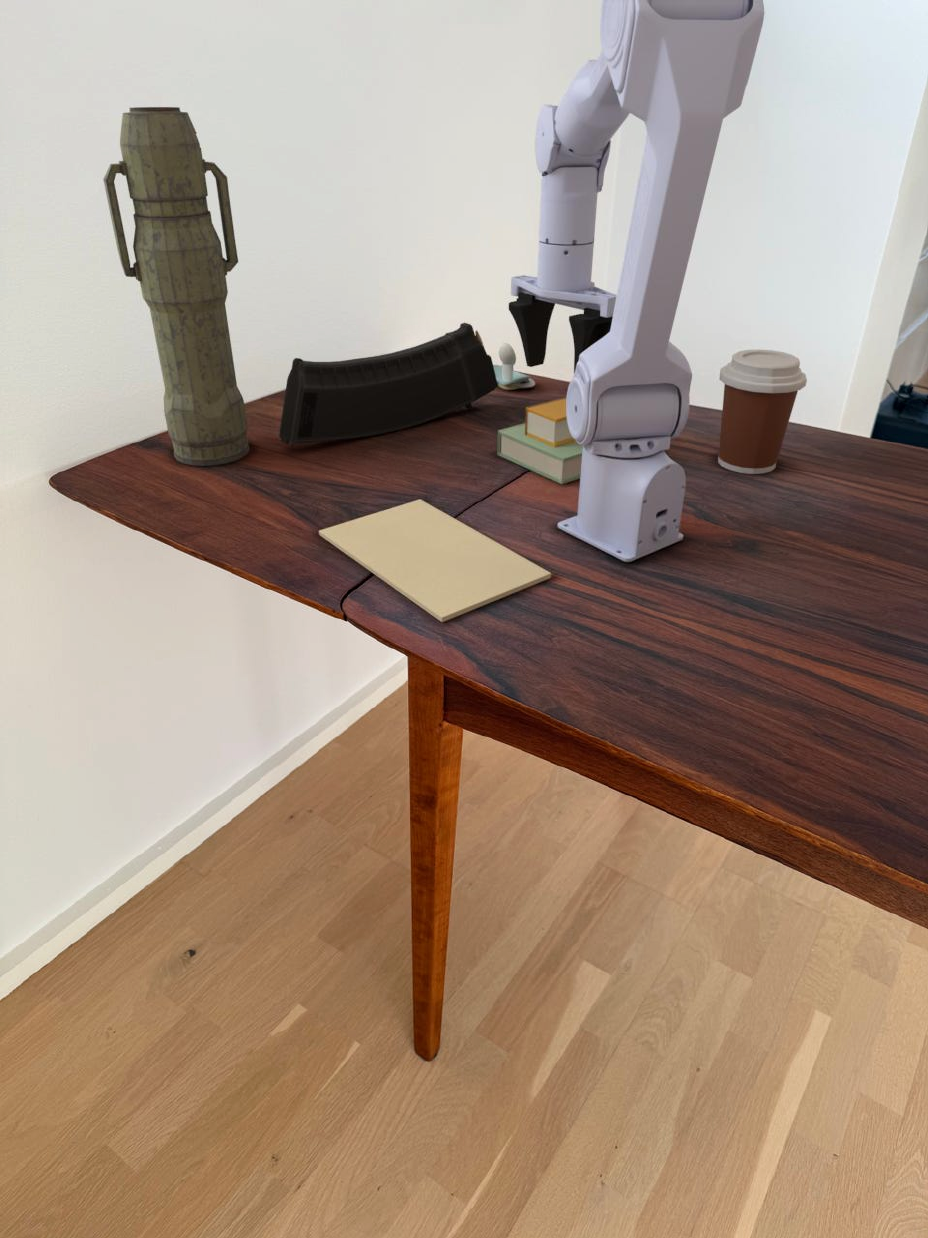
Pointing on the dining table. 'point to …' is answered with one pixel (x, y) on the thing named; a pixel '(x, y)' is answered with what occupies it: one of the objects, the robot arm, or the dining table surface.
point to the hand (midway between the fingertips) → (558, 372)
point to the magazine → (385, 389)
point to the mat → (434, 558)
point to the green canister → (182, 279)
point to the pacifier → (510, 371)
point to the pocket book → (548, 423)
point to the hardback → (540, 455)
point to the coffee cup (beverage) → (757, 408)
